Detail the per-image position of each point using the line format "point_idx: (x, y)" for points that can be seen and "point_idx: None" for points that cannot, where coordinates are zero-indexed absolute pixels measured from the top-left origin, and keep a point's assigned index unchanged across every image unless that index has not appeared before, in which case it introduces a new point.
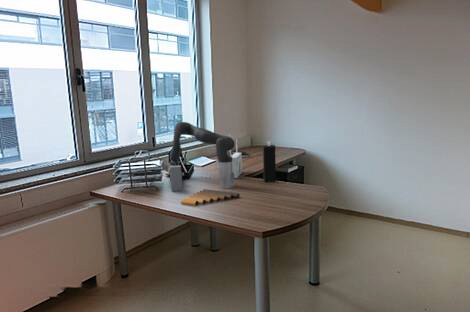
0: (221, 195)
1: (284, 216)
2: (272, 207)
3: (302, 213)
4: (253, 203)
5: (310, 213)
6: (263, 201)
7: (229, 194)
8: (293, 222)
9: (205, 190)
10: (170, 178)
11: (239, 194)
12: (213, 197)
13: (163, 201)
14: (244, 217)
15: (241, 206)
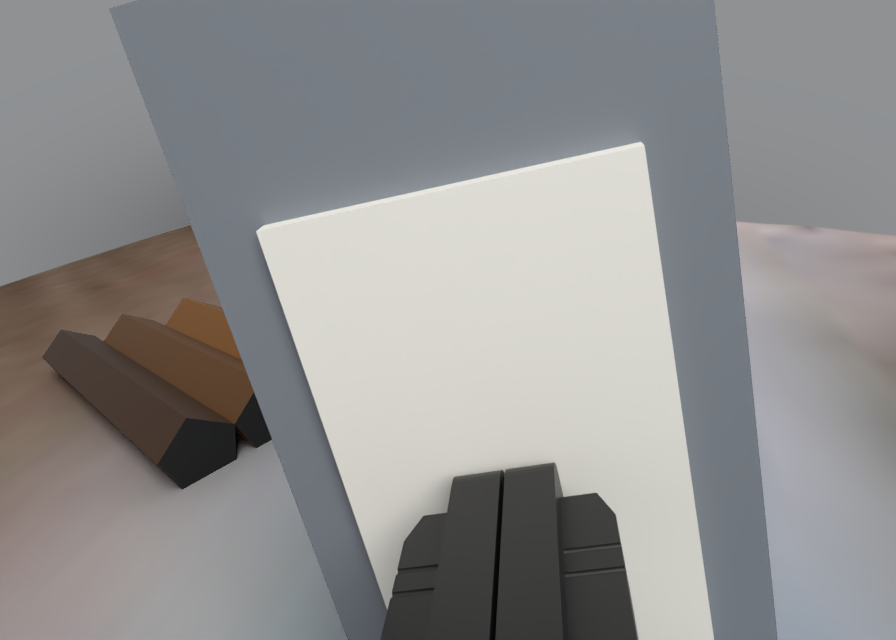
0: (197, 302)
1: (161, 245)
2: (100, 286)
3: (84, 263)
4: (112, 310)
5: (65, 266)
6: (39, 329)
7: (130, 317)
8: (186, 227)
9: (191, 409)
10: (752, 461)
11: (46, 352)
12: None
13: (769, 301)
14: None
15: (203, 283)
